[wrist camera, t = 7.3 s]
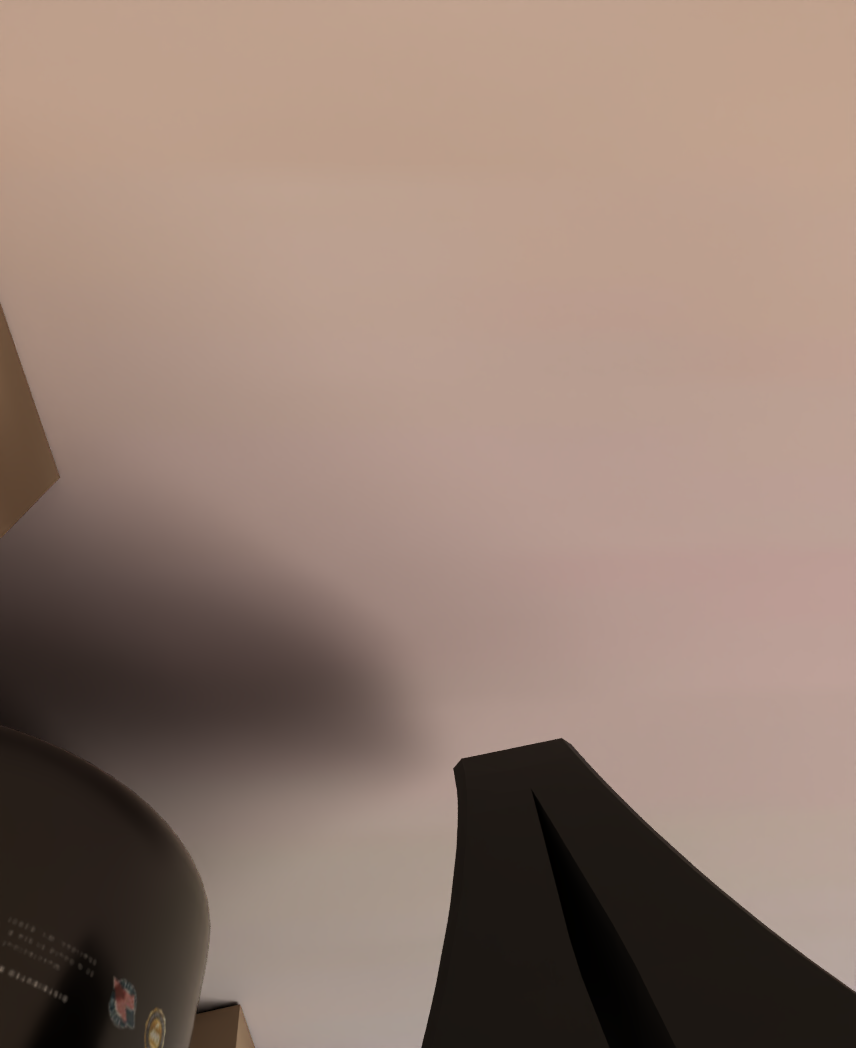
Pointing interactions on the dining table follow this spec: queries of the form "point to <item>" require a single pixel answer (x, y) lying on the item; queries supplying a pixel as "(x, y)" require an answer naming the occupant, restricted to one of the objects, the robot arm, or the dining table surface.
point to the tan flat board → (3, 498)
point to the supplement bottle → (92, 909)
